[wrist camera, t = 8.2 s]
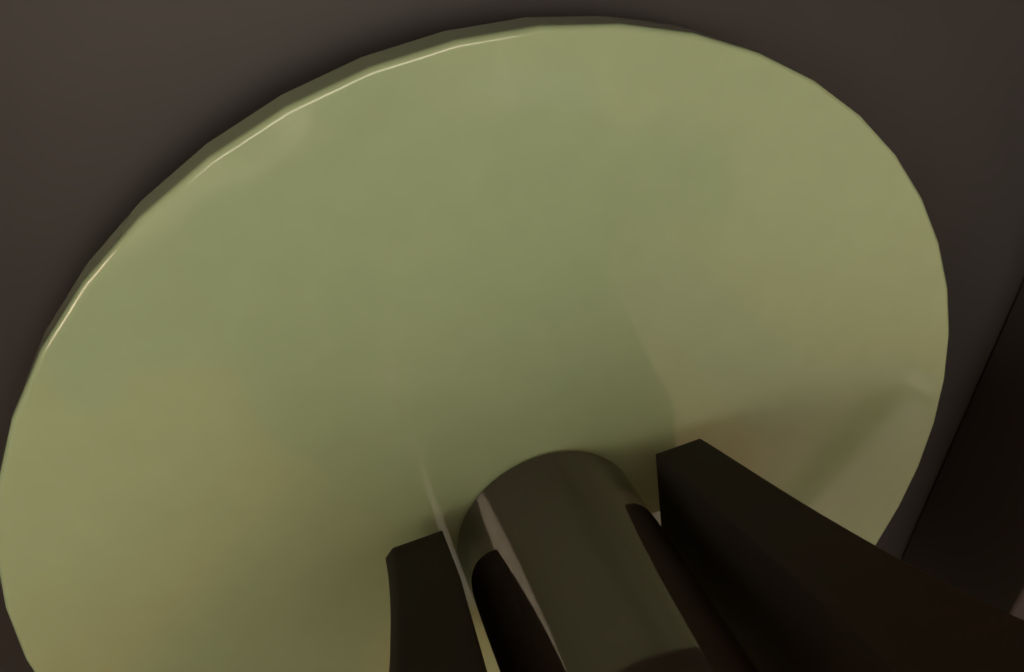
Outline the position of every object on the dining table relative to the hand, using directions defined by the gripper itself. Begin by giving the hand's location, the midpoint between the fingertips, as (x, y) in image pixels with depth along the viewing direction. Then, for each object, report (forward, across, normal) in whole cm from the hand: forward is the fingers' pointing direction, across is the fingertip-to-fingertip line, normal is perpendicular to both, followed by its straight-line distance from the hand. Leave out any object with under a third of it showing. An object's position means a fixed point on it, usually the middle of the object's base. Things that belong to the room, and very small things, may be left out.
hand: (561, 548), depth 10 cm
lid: (+1, 0, 0) cm, 1 cm away
